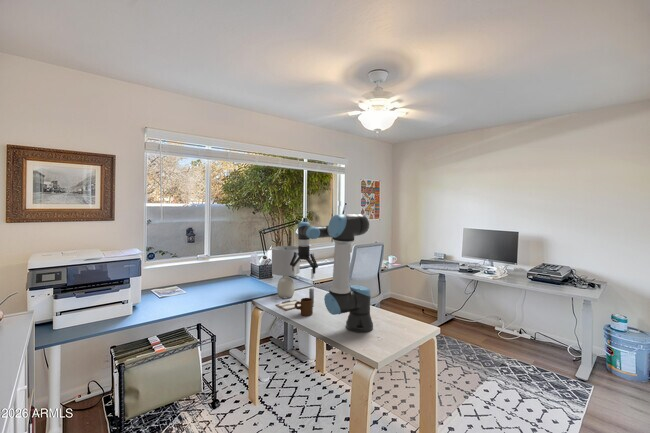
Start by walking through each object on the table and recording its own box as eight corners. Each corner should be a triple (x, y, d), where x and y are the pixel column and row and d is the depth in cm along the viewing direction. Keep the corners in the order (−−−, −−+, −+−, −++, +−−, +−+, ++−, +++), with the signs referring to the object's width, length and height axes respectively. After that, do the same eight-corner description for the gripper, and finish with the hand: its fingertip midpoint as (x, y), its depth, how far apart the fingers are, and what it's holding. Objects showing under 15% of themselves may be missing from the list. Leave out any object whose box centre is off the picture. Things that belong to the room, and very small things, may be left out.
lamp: (301, 293, 241) (301, 245, 239) (296, 301, 221) (296, 249, 219) (276, 292, 243) (275, 244, 241) (268, 300, 223) (268, 249, 221)
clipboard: (306, 305, 213) (306, 303, 212) (285, 311, 202) (285, 308, 202) (295, 300, 223) (295, 298, 222) (275, 305, 212) (275, 303, 212)
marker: (314, 306, 211) (314, 289, 210) (311, 307, 209) (311, 289, 208) (311, 305, 213) (312, 288, 213) (308, 306, 211) (308, 288, 211)
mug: (297, 318, 190) (297, 303, 189) (292, 314, 196) (292, 299, 196) (314, 315, 196) (314, 300, 195) (309, 311, 202) (309, 296, 202)
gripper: (323, 246, 205) (323, 278, 206) (290, 243, 216) (290, 273, 217) (318, 247, 198) (317, 280, 200) (284, 244, 209) (284, 276, 210)
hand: (303, 277), depth 208 cm, fingers open, 13 cm apart
